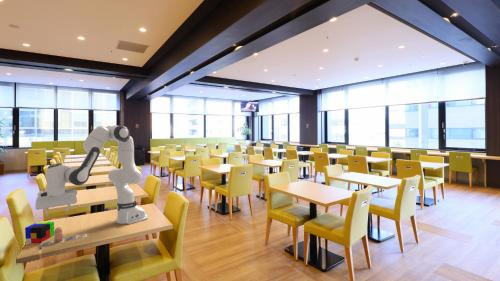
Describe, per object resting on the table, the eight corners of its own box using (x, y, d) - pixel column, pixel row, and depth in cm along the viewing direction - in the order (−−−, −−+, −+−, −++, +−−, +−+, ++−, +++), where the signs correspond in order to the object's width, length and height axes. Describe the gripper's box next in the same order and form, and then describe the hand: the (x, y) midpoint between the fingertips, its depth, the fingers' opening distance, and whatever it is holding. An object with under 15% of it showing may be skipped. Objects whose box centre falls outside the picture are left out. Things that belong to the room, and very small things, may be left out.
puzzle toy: (25, 243, 159) (25, 227, 159) (39, 236, 169) (38, 221, 169) (42, 244, 159) (41, 227, 158) (54, 237, 169) (54, 221, 168)
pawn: (62, 238, 163) (62, 225, 162) (62, 241, 160) (62, 227, 159) (54, 240, 161) (54, 227, 160) (54, 242, 157) (53, 229, 157)
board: (87, 234, 173) (87, 232, 173) (89, 238, 167) (89, 236, 167) (38, 245, 157) (38, 242, 157) (38, 250, 151) (38, 247, 151)
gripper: (76, 187, 167) (77, 208, 168) (34, 192, 155) (36, 215, 155) (77, 189, 162) (78, 211, 163) (34, 195, 150) (36, 218, 151)
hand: (57, 213), depth 159 cm, fingers open, 8 cm apart
